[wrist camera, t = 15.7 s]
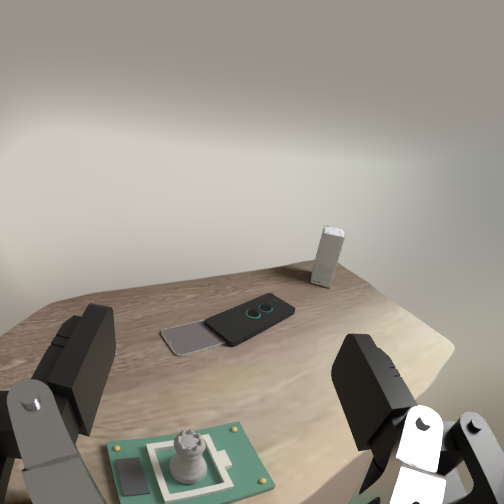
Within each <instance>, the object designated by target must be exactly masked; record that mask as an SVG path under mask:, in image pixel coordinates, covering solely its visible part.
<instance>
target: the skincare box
mask: <svg viewBox="0 0 504 504" xmlns="http://www.w3.org/2000/svg"><path fill="white" fill-rule="evenodd" d="M344 239H345V236H344V231H343V230H341V229H338V228H334V227H330V226H324V229H323V233H322V236H321V240H320V243H319V247H318V251H317V254H316V258H315V262H314V265H313V269H312V274H311V283H313V284H317V285H320V286H323V287H327V288H330V287H331V284H332V280H333V277H334V273H335V270H336V267H337V263H338V260H339V256H340V253H341V249H342V245H343V242H344Z"/></svg>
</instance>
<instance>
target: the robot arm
mask: <svg viewBox="0 0 504 504" xmlns="http://www.w3.org/2000/svg"><path fill="white" fill-rule="evenodd" d="M115 350H116V340H115V330H114V317H113V309H112V307H108V306H103V305H97V304H92V303H90V304H89V305H88V307H87V308H86V310H85V312H84V313H83V315H82V317H79V316H75V315H74V316H73V317H71V318H70V319H68V320H67V321H66V322H64V323H63V324H62V326H61V327H60V329H59V331H58V332H57V334H56V336H55V337H54V339H53V341H52V342H51V345H50V346H49V347H48V349H47V351H46V353H45V354H44V356H43V358H42V360H41V361H40V363H39V365H38V367H37V369H36V370H35V372H34V374H33V376H32V378H31V379H28V380H23V381H20V382H18V383H17V384H15V385H14V386H13V387H12V388H11V389H10V391H0V504H4V500H5V495H6V491H7V487H8V483H9V479H10V475H11V471H12V467H13V464H14V460H15V458H18V459H22V460H23V463H24V467H25V469H23V470H22V475H23V479H24V482H25V485H26V488H27V490H28V493H29V495H30V498H31V500H32V502H33V504H108V503H107V502H106V500H105V499H104V497H103V496H102V494H101V492H100V491H99V489H98V487H97V485H96V484H95V482H94V480H93V478H92V476H91V475H90V473H89V471H88V469H87V467H86V465H85V463H84V461H83V459H82V457H81V455H80V453H79V451H78V449H77V447H76V445H75V444H76V441H77V437H78V434H82V435H85V436H90V433H91V429H92V426H93V422H94V419H95V415H96V412H97V409H98V406H99V403H100V399H101V396H102V393H103V390H104V387H105V384H106V381H107V378H108V375H109V372H110V369H111V366H112V363H113V361H114V357H115ZM331 377H332V382H333V384H334V387H335V389H336V392H337V395H338V397H339V400H340V403H341V405H342V408H343V411H344V413H345V416H346V419H347V421H348V424H349V427H350V429H351V432H352V435H353V438H354V440H355V443H356V446H357V449H358V451H363V450H369V449H371V451H372V453H373V454H372V455H371V456H370V457H369V459H368V461H367V464H366V467H365V469H364V471H363V474H362V476H361V478H360V481H359V483H358V485H357V487H356V490H355V492H354V494H353V496H352V498H351V500H350V501H349V503H348V504H504V453H503V451H502V449H501V448H500V446H499V444H498V442H497V440H496V438H495V437H494V435H493V433H492V431H491V429H490V428H489V426H488V425H487V423H486V421H485V420H484V419H483V418H482V417H481V416H480V415H479V414H477V413H474V412H465V413H464V414H463V415H462V416H461V417H460V418H459V419H458V420H457V422H452V421H442V420H441V419H440V417H439V416H438V414H437V413H436V412H434V411H433V410H432V409H430V408H428V407H425V406H418V405H417V403H416V401H415V399H414V398H413V396H412V394H411V392H410V391H409V389H408V387H407V386H406V384H405V382H404V380H403V379H402V377H400V374H399V372H398V370H397V369H395V365H394V364H393V362H392V360H391V359H390V357H389V356H388V355H387V354H386V353H385V352H383V351H382V350H381V349H380V348H377V346H376V344H375V343H374V341H373V339H372V338H371V336H370V335H368V334H348V335H347V336H346V337H345V339H344V341H343V344H342V346H341V348H340V350H339V352H338V354H337V357H336V359H335V361H334V363H333V366H332V370H331ZM463 460H464V461H465V464H466V466H467V468H468V470H469V472H470V474H471V477H472V479H473V481H474V487H473V490H472V491H471V493H470V494H469V495H467V494H466V492H465V489H464V487H463V484H462V482H461V480H460V477H459V475H458V473H457V470H456V468H455V467H457V466H458V465H459V464H460V463H461V462H462V461H463Z"/></svg>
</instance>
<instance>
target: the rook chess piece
mask: <svg viewBox="0 0 504 504" xmlns="http://www.w3.org/2000/svg"><path fill="white" fill-rule="evenodd" d="M173 444H174V447H175V449H176V454H174V455H173V457H172V458H171V459H170V464H169V470H170V473H171V475H172V476H173V477H174V478H175V480H177V481H179V482H181V483H185V484H194V483H198V482H200V481H201V480H203V479H204V477H205V476H206V474H207V465H206V462H205V460H204V458H203V457H202V453H203V452H204V450H205V448H206V443H205V440H204V438H203V437H202V436H201V435H200V434H199V433H195V432H194V430H189V431H186V432H185V431H182V432H180V434H178V435H177V436H176V437H175V439H174V443H173Z"/></svg>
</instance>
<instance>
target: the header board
mask: <svg viewBox="0 0 504 504" xmlns="http://www.w3.org/2000/svg"><path fill="white" fill-rule="evenodd" d="M194 432H195V433H199V434H200V435H201V436H202V437H203V438H204V440H205V443H206V448H205V450H204V452H203V453H202V457H203V458H204V460H205V462H206V465H207V474H206V476H205V477H204V479H203V480H201V481H200V482H198V483H194V484H185V483H181V482H179V481H177V480H175V478H174V477H173V476H172V475H171V473H170V470H169V464H170V459H171V458H172V457H173V455H174V454H176V449H175V447H174V444H173V443H174V439H175V437H176V436H177V435H178V434H173V435H166V436H159V437H151V438H143V439H134V440H123V441H110V442H106V443H107V448H108V453H109V458H110V463H111V467H112V471H113V476H114V480H115V484H116V488H117V492H118V495H119V499H120V503H121V504H228V503H232V502H235V501H239V500H242V499H245V498H249V497H252V496H255V495H258V494H261V493H264V492H266V491H269V490H272V489H274V487H275V486H276V485H275V484H274V482H273V480H272V479H271V477H270V476H269V474H268V472H267V471H266V469H265V467H264V465H263V464H262V462H261V460H260V459H259V457H258V455H257V453H256V452H255V450H254V448H253V446H252V445H251V443H250V441H249V439H248V437H247V436H246V434H245V432H244V430H243V428H242V427H241V425H240V423H239V422H235V423H230V424H226V425H221V426H217V427H212V428H207V429H202V430H197V431H194ZM179 434H180V433H179Z"/></svg>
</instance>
